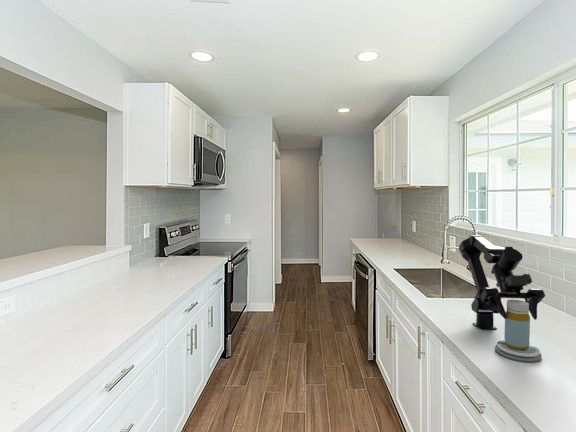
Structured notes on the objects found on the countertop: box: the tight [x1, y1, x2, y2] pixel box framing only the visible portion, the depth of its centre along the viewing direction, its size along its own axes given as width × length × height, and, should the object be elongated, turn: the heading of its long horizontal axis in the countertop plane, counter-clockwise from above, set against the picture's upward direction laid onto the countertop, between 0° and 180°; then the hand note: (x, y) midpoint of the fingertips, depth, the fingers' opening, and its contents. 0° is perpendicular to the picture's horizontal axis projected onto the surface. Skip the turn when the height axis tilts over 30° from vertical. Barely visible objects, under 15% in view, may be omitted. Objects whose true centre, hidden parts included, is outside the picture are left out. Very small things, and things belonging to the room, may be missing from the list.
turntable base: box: [494, 344, 542, 364], centre depth 120 cm, size 13×13×7 cm
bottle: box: [503, 299, 531, 350], centre depth 120 cm, size 7×7×15 cm
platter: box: [496, 339, 541, 358], centre depth 120 cm, size 12×12×1 cm
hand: (520, 318), depth 118 cm, fingers open, 9 cm apart
